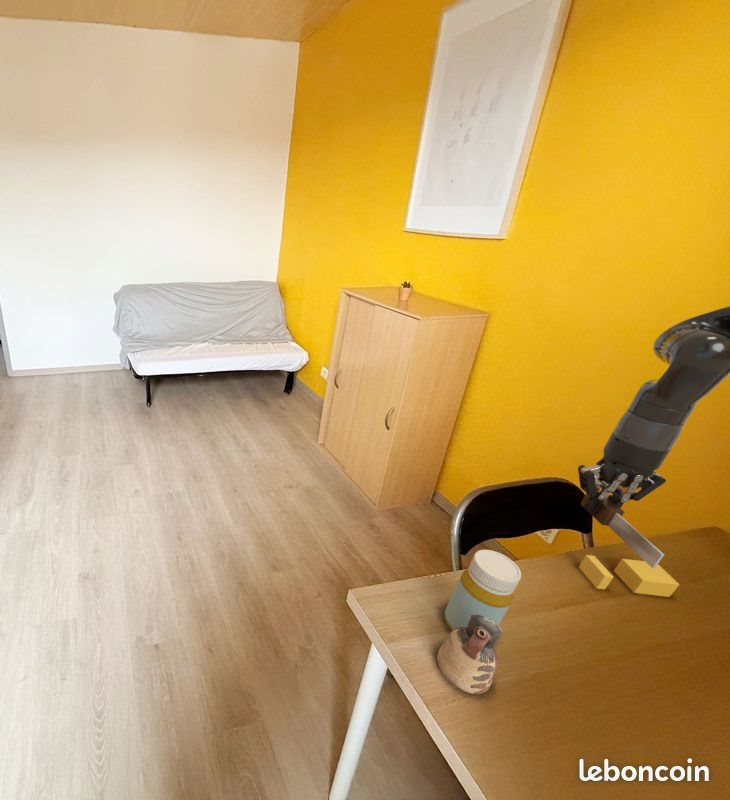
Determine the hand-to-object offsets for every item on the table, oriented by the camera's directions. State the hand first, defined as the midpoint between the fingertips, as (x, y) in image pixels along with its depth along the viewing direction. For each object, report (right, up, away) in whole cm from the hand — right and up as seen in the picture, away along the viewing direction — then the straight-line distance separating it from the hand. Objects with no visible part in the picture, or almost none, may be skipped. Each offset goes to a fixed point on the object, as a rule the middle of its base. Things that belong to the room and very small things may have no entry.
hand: (598, 512), depth 81 cm
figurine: (-38, -20, -17) cm, 46 cm away
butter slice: (-3, -13, -1) cm, 13 cm away
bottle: (-33, -17, -10) cm, 38 cm away
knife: (-1, -3, -4) cm, 5 cm away
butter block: (+6, -13, -2) cm, 15 cm away
